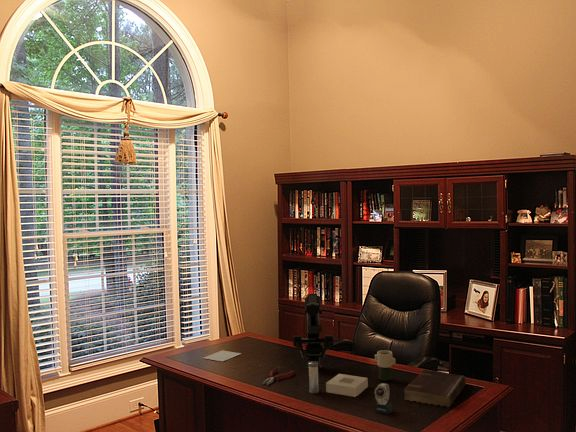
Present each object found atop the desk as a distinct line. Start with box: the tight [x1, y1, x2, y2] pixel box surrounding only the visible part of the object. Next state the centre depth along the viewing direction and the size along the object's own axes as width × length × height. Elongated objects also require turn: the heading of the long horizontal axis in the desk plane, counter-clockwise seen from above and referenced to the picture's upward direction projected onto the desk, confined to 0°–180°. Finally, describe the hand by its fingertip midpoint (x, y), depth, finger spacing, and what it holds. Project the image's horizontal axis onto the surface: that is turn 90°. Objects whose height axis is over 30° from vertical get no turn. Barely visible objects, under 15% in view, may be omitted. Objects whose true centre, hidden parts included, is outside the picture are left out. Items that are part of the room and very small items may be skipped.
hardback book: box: [403, 369, 467, 408], centre depth 232 cm, size 29×19×5 cm, turn 150°
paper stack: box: [203, 349, 242, 362], centre depth 289 cm, size 23×25×1 cm
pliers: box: [261, 368, 295, 386], centre depth 255 cm, size 12×20×3 cm, turn 152°
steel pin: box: [307, 361, 319, 394], centre depth 236 cm, size 5×5×13 cm
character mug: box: [374, 349, 396, 382], centre depth 249 cm, size 11×7×13 cm, turn 48°
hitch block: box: [325, 373, 369, 398], centre depth 238 cm, size 14×14×4 cm
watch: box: [374, 382, 393, 415], centre depth 212 cm, size 6×8×11 cm
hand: (313, 357), depth 243 cm, fingers open, 9 cm apart
